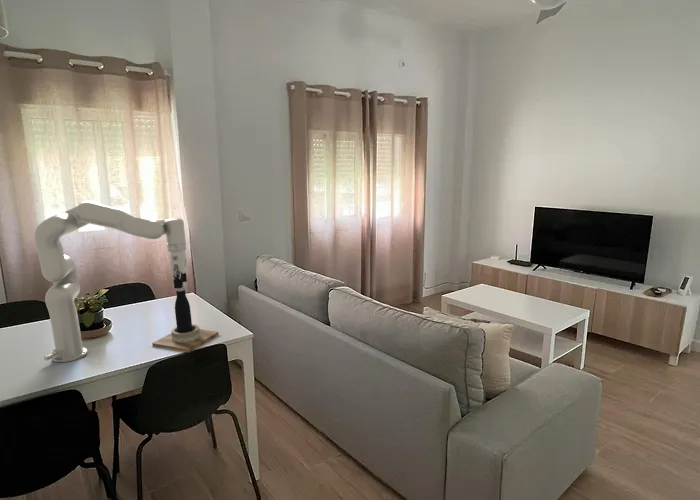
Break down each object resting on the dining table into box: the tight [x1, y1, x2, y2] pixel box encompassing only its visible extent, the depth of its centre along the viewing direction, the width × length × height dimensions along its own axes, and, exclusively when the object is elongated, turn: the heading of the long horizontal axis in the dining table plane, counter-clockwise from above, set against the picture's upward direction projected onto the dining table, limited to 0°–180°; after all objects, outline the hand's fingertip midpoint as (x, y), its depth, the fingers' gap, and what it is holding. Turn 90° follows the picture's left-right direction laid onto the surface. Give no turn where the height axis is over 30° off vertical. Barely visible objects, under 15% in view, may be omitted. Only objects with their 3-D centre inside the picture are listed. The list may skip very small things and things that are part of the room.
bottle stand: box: [152, 323, 219, 353], centre depth 197 cm, size 20×20×6 cm
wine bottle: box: [174, 273, 193, 333], centre depth 194 cm, size 6×6×30 cm
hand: (180, 284), depth 192 cm, fingers open, 9 cm apart
